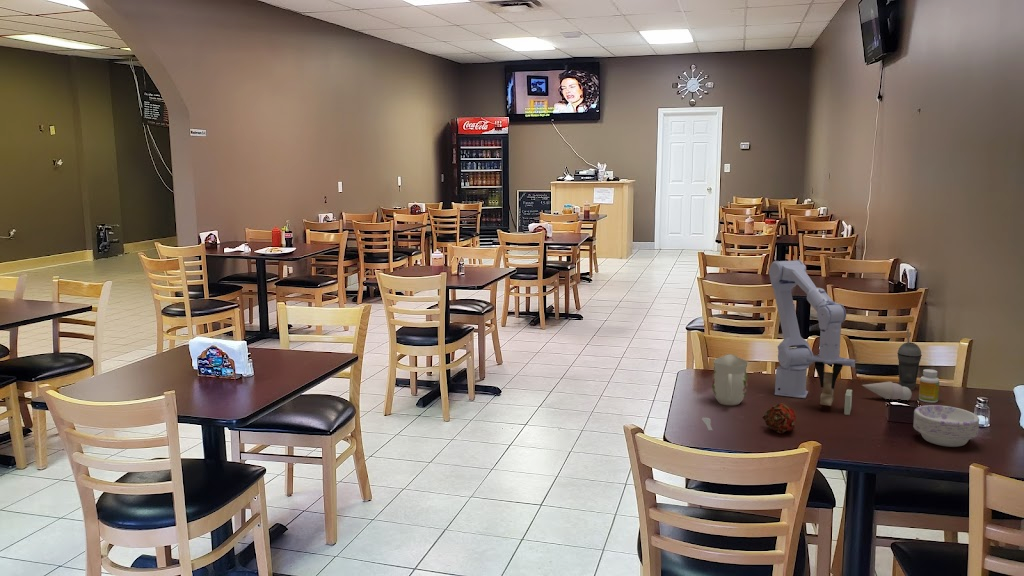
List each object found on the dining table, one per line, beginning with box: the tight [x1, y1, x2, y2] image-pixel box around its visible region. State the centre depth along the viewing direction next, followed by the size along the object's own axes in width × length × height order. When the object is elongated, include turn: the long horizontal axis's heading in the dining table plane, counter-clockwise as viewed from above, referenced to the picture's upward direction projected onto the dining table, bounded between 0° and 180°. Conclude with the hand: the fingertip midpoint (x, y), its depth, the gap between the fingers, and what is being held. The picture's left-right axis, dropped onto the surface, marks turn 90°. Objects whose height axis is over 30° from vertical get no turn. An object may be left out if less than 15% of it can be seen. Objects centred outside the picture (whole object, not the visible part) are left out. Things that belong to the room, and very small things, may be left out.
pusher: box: [819, 371, 834, 407], centre depth 234 cm, size 3×8×9 cm, turn 153°
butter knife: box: [701, 417, 713, 431], centre depth 216 cm, size 1×24×3 cm
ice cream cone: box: [861, 380, 913, 401], centre depth 243 cm, size 6×6×15 cm
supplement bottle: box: [918, 368, 940, 404], centre depth 242 cm, size 5×5×10 cm
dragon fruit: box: [761, 402, 797, 434], centre depth 215 cm, size 8×8×12 cm
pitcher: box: [711, 353, 749, 406], centre depth 241 cm, size 11×18×14 cm, turn 164°
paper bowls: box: [912, 404, 980, 448], centre depth 206 cm, size 15×15×8 cm
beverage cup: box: [897, 328, 922, 391], centre depth 255 cm, size 7×7×20 cm
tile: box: [843, 389, 853, 416], centre depth 232 cm, size 2×7×6 cm, turn 153°
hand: (827, 387), depth 234 cm, fingers closed on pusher, 2 cm apart
